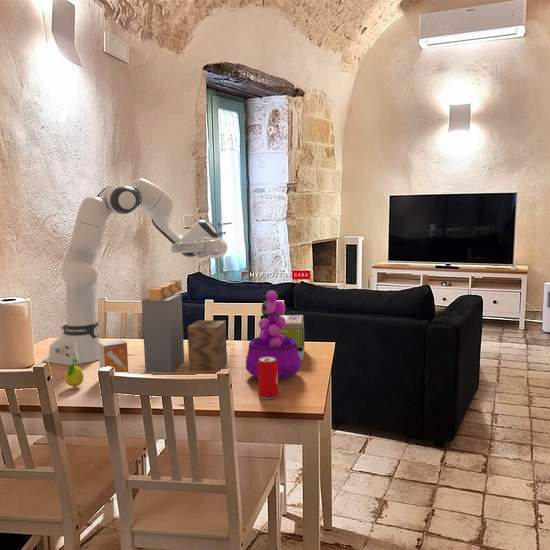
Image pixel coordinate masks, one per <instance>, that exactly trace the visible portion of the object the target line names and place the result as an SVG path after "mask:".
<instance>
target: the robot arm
mask: <svg viewBox="0 0 550 550" xmlns="http://www.w3.org/2000/svg"><path fill="white" fill-rule="evenodd" d="M137 207H140V208H141V209H142V210H145V212H147V213H148V214H149V216H150V217H151V222H152V225H153V226H154V227H155V228H156V230H158V231H159V233H161V234H162V235H163V236H164V237H165V239H167V240H168V241H169V242H170V243H171V247H170V250H171V253H173V254H181V255H183V256H184V257H186V258H193V257H196V258H200V259H218V258H222V257H223V256H224V255H226V253H227V252H228V244H227V242H226V241H225V240H224V239H222V238H220V237H219V232H218V230H217V228H216V227H215V226H214V225H213V223H212V222H210V221H208V220H206V219H205V220H204V219H198V220H197V221H196V222H195V223H194V224H192V225H191V227H190V228H189V229H188V230H187V231H186V232H184V234H183V235H180V234H179V233H178V232H177V231H176V230H175V229H174V228H172V227H171V225H169V220H170V218H171V215H172V213H173V208H174V203H173V199H172V197H171V195H169V194H168V193H167V192H166V191H165V190H164V189H163V188H160V186H158V185H156V184H155V183H153V182H150V181H149V180H147V179H144V178H141V177H140V178H136V179H134V180H133V181H131V183H130V185H129V186H126V185H119V184H117V185H116V184H115V185H111V186H110V185H109V186H106V187H105V188H103V189H102V190H101V191H100V192H99V193H98V194H97V195H96V196H92V195H90V196H87V197H85V198H84V199H83V200H82V202H81V204H80V207H79V208H78V212H77V214H76V219H75V221H74V226H73V231H72V236H71V238H70V243H69V246H68V247H67V248H68V249H67V251H66V253H65V257H64V261H63V263H62V266H61V270H60V271H61V274H60V275H61V278H62V280H63V281H64V282H65V285H66V286H65V287H66V293H65V313H66V315H65V316H66V317H65V318H66V324H64V325H63V326H61V327H60V328H61V329H60V330H61V331H62V330H63V332H62V334H61V335H60V336H59V337H58V338H57V339H55V340H54V341H53V342H51V344H50V346H49V347H48V348H49V349H48V350H49V351H48V355H46V356H44V357H43V358H42V362H43V361H49V362H51V363H50V364H56V363H58V364H57V365H67V366H70V365H72V364H73V358H74V360H75V359H77V361H78V364H77V363H76V362H74V365H75V366H77V365H80V364H86V363H93V362H96V361H98V360H99V361H100V358H99V342H100V338H99V335H100V327H99V321H98V319H97V318H98V316H97V315H98V314H97V290H98V289H97V287H98V272H97V269H96V268H95V266H94V265H95V262H96V258H97V256H98V254H99V251H100V250H101V248H102V247H101V246H102V244H103V237H104V236H105V235H104V233H105V230H106V226H107V225H106V224H107V221H108V219H109V216H110V215H112V214H116V215H127V214H130V213H132V212H134V211H135V210H136V209H137Z"/></svg>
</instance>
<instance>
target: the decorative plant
mask: <svg viewBox="0 0 550 550" xmlns="http://www.w3.org/2000/svg"><path fill="white" fill-rule="evenodd" d="M278 298H279V296H278V294H277V292H276V291H275V290H269V291H267V293H266V295H265V299H266V301H270V302H269V303H268V304H267V305H266V311H267V312H269V320H268V319H263V318H261V319H260V320H259V321H258V327H259V328H260V332H259V337H255V338H253V339H251V340H250V341H249V343H248V350H247V355H246V359H245V369H246V371H247V372H248V373H249V374H250V376H253V377H255V378H258V362H259V358H261V357H275V358H276V361H277V363H278V381H279V380H283V379H286V378H289V377H293V376H294V375H296V374H297V373H298V372H299V370H300V369H301V364H302V363H301V362H302V361H301V360H300V357H299V353H298V349H297V343H296V340H295V339H293V338H290V337H285V336H283V335H281V334H279V332H280V328H283V326H285V324H286V321H285V319H284V318H283V317H277V318H276V319H275V314H277V315H281V314H282V313H284V314H285V311H286V304H285V303H284V301H283V302H281V300H278ZM274 301H276V302H274ZM273 302H274V303H273ZM266 329H267V330H266Z"/></svg>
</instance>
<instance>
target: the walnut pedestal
mask: <svg viewBox="0 0 550 550" xmlns="http://www.w3.org/2000/svg"><path fill="white" fill-rule="evenodd" d="M226 321H227V320H204V319H203V320H202V319H201V320H200V319H199V320H198V319H197V320H196V321H194V322H192V323H191V324H189V325H188V326H187V345H188V347H187V349H188V350H187V351H188V371H193V370H195V371H194V372H197V371H199V372H220V371H221V370H222V368H224V366H225V365H226V364H227V363H228V357H227V356H228V352H227V351H228V349H227V322H226ZM220 369H221V370H220ZM219 370H220V371H219Z"/></svg>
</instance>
